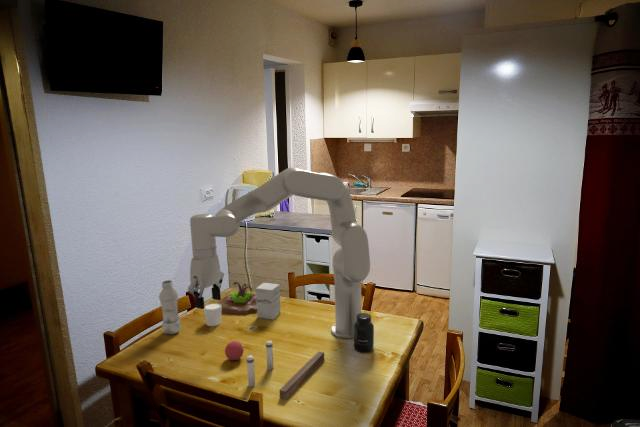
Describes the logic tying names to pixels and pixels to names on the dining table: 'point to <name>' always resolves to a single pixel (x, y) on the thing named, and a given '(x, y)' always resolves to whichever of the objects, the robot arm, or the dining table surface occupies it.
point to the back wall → (301, 375)
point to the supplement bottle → (363, 333)
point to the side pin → (250, 370)
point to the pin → (269, 355)
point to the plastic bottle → (169, 308)
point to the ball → (234, 350)
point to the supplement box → (268, 300)
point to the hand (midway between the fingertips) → (208, 303)
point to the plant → (239, 301)
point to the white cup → (213, 314)
